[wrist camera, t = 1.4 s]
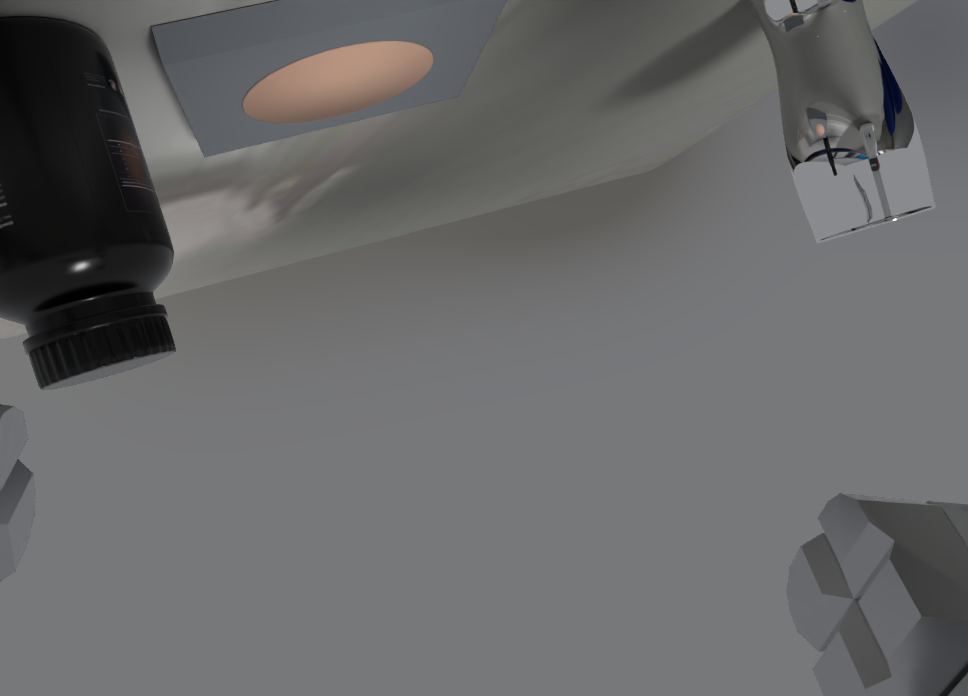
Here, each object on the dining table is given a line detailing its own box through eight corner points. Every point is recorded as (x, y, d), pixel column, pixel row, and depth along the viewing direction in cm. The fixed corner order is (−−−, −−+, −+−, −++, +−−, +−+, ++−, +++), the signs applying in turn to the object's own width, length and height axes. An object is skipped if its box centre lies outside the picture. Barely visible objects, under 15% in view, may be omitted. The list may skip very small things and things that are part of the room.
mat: (501, -47, 35) (512, -8, 35) (451, 70, 48) (459, 97, 48) (151, 26, 33) (163, 68, 33) (195, 129, 45) (204, 159, 45)
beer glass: (872, -40, 51) (944, 205, 52) (756, 13, 55) (824, 241, 55) (853, -68, 46) (935, 208, 46) (725, -7, 49) (801, 248, 49)
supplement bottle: (-37, 107, 35) (51, 396, 35) (-146, 45, 28) (-36, 405, 28) (134, 62, 35) (220, 347, 35) (68, -9, 28) (175, 343, 29)
